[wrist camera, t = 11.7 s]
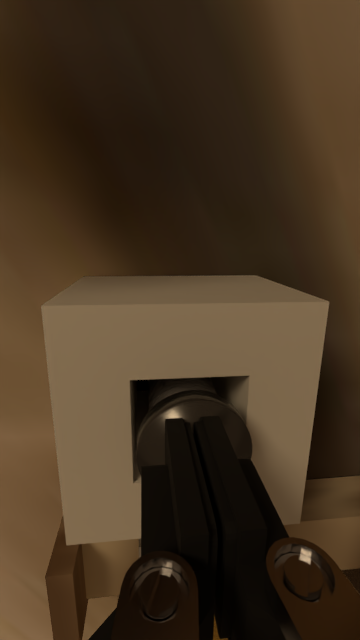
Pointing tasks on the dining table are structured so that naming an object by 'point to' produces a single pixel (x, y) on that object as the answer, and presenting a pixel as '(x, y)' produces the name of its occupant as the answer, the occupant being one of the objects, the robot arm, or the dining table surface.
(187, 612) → the robot arm
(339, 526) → the rail
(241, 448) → the plunger
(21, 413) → the dining table surface
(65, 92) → the dining table surface
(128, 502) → the housing
